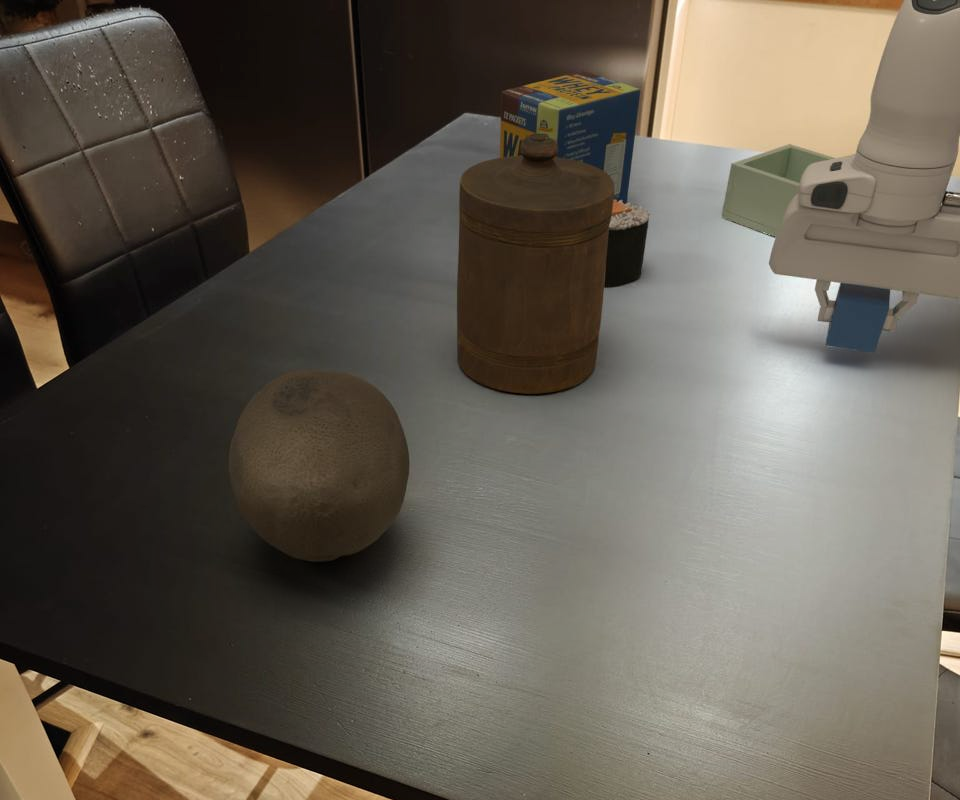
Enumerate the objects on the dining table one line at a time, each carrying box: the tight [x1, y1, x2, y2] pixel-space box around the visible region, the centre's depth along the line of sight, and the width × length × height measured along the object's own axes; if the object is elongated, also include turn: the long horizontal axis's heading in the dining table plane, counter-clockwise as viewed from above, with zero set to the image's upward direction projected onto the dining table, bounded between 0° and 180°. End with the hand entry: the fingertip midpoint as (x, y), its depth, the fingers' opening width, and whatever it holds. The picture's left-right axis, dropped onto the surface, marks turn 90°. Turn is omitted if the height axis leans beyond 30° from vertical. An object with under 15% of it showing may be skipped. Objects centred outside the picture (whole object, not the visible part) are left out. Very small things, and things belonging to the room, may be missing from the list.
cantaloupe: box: [228, 368, 410, 563], centre depth 71 cm, size 14×14×15 cm
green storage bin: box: [721, 143, 836, 238], centre depth 126 cm, size 15×13×7 cm
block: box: [825, 283, 891, 354], centre depth 98 cm, size 5×5×5 cm
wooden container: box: [456, 133, 614, 395], centre depth 92 cm, size 15×15×22 cm
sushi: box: [604, 199, 651, 288], centre depth 113 cm, size 8×8×8 cm
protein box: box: [499, 70, 642, 204], centre depth 124 cm, size 10×15×16 cm
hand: (855, 324), depth 99 cm, fingers closed on block, 5 cm apart
